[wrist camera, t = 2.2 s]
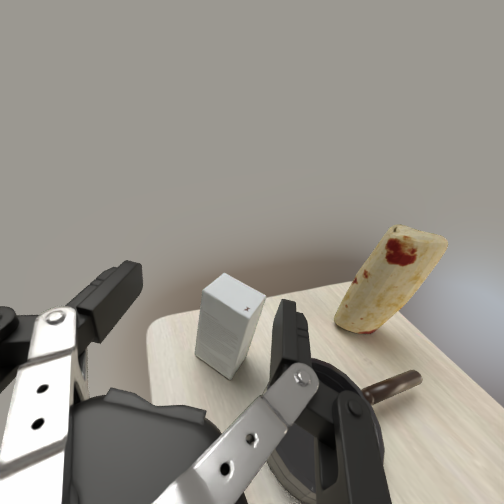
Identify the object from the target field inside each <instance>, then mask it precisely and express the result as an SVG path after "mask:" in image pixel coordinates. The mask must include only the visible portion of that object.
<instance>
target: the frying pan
mask: <svg viewBox="0 0 504 504" xmlns="http://www.w3.org/2000/svg"><path fill="white" fill-rule="evenodd" d="M311 362H312V368H313V370H314V372H315V373H316V375H317V377H318V379H319V380H320V381H321V382H322V383H323V384H325V385H326V386H328V387H330V388H331V389H333V390H335V391H336V392H338V393H341V392H342V391H345V390H348V391H352V392H355V393H356V394H358V395H359V396H360V397H361V398H362V399H363V400H364V401H365V402H366V403H367V405H368V407H369V409H370V412H371V415H372V420H373V424H374V428H375V433H376V437H377V441H378V446H379V450H380V454H381V459H382V463H384V452H385V450H384V449H385V448H384V443H383V438H382V432H381V427H380V425H379V422H378V420H377V417H376V415H375V413H374V410H373V408H372V406H371V404H370V403H369V401H367V400H366V399H365V397H364V396H363V393H362V391H361V390H360V388H359V387H358V386H357V385H356V384H355V383H354V382H353V381H352V380H351V379H350V378H349V377H348V376H347V375H346V374H345V373H343V372H342V371H340V370H339V369H337V368H336V367H334V366H333V365H331V364H329V363H326V362H324V361H321V360H318V359H315V358H311ZM270 387H271V386H269V382H268V384H267V386H266V388H265V390H264V392H263V394H264V393H265V392H266V391H267V390H268V389H269V388H270ZM263 394H262V395H263ZM267 462H268V464H269V466H270V468H271V470H272V472H273V473H274V475H275V476H276V478H277V479H278V480H279V482H280V483H281V484H282V485H283V486H284V487H285V488H286V489H287V490H288V491H289V492H290V493H291V494H292V495H293V496H294V497H296V498H297V499H298V500H300V501H302V502H303V503H305V504H316V482H315V455H314V436H313V435H311V434H310V433H308V432H307V431H305V430H304V429H302V428H301V427H299V426H298V425H296V424H295V423H294V424H293V425H292V426H291V428H290V429H289V430H288V432H287V433H286V435H285V436H284V437H283V439H282V440H281V441H280V443H279V444H278V446H277V447H276V448H275V450H274V451H273V452H272V454H271V455H270V457H269V458H268V459H267Z"/></svg>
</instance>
